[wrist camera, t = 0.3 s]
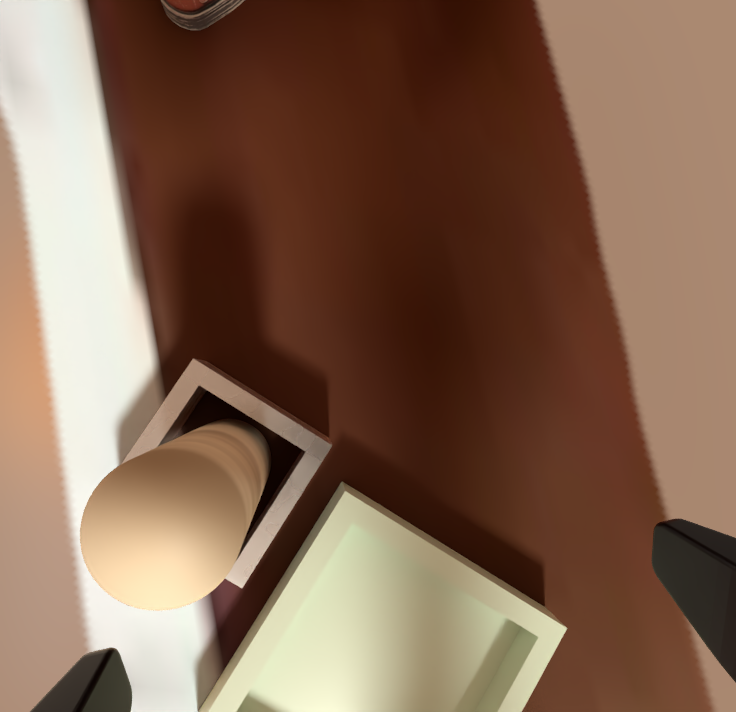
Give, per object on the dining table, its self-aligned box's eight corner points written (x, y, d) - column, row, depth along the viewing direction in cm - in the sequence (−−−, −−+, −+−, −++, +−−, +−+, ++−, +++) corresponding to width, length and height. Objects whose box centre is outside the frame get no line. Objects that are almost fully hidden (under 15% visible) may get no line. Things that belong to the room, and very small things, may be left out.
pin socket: (249, 564, 22) (242, 588, 20) (119, 487, 21) (95, 502, 19) (329, 438, 23) (332, 445, 20) (205, 360, 22) (193, 358, 20)
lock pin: (240, 522, 22) (186, 639, 12) (164, 477, 22) (46, 559, 12) (288, 447, 23) (273, 502, 13) (214, 402, 22) (141, 421, 12)
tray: (418, 836, 22) (429, 880, 20) (197, 713, 21) (186, 747, 20) (545, 607, 24) (567, 628, 22) (341, 481, 23) (345, 490, 21)
